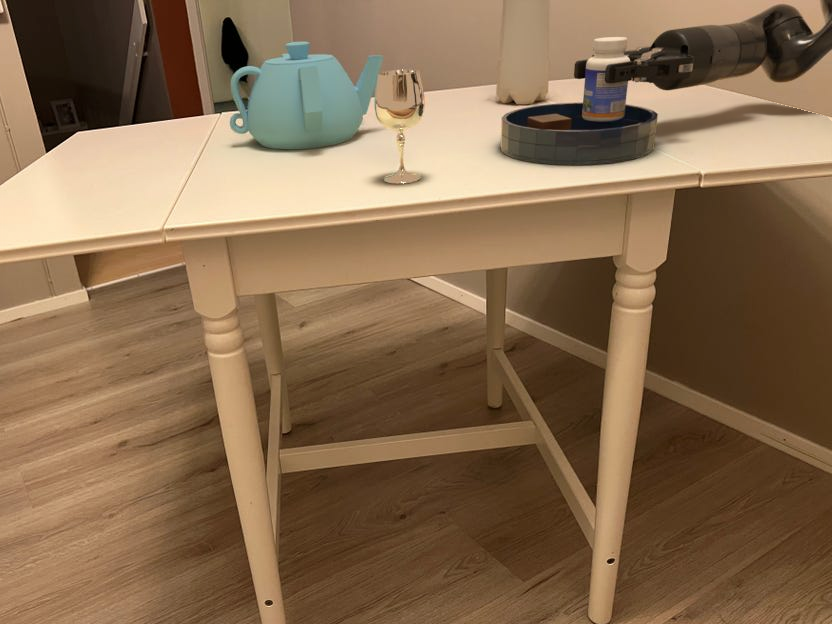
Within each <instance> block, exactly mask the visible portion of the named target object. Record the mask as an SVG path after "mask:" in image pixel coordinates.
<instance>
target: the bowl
mask: <svg viewBox="0 0 832 624" xmlns="http://www.w3.org/2000/svg"><path fill="white" fill-rule="evenodd" d="M582 109H583V101H582V102H578V101H577V102H560V103H548V104H539V105H534V106H525V107H522V108H518V109H514V110H512V111H508V112H506V113H505V114H503V116H501V118H500V119H501V120H500V121H501V122H500V123H501V124H500V150H501V152H502V153H503V154H504V155H506V156H508V157H509V158H512V159H516V160H519V161H522V162H529V163H535V164H544V165H556V166H591V165H593V166H594V165H605V164H615V163H621V162H626V161H631V160H636V159H639V158H642V157H645V156H646V155H648V154H650V153H651V152H653V150H654V147H655V139H656V133H657V124H658V117H659V114H658V113H657V112H656V111H655V110H654V109H650V108H647V107H644V106H639V105H633V104H627V103H626V105H625V114H624V117H623V118H621V119H619V120H615V121H606V122H598V121H588V120H585V119H583V117H582ZM549 114H558V115H562V116H565V117H568V118H571V119H572V120H571V130H549V129H536V128H529V127H527V121H528V117H533V116H541V115H549Z"/></svg>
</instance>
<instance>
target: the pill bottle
mask: <svg viewBox="0 0 832 624" xmlns="http://www.w3.org/2000/svg"><path fill="white" fill-rule="evenodd" d="M627 47H628V38H627V37H626V36H625V37H624V36H606V37H598V38H595V39H594V40H593V47H592V50H593V52H594V54H593V55H594V56H593V57H592V56H591V57H590V58H588V61H587V63H586V71H585V78H584V86H583V87H584V88H583V98H582V102H583V109H582V117H583V119H585V120H588V121H598V122H606V121H615V120H619V119H621V118H623V117H624V114H625V105H626V104H627V103H626V102H627V95H628V85H629V81H625V82H619V83H612V84H609V83H606V82H605V72H606V67H607V65H609V64H615V63H622V62H629V61H630V59H629V57H627V56H628V55H624V51H625V50H627Z"/></svg>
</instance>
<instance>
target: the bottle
mask: <svg viewBox="0 0 832 624" xmlns="http://www.w3.org/2000/svg"><path fill="white" fill-rule="evenodd" d="M549 47H550V0H502V13H501V27H500V41H499V55H498V60H497V65H496V88H495V89H496V90H495V93H496V96H497V97H498V100H499V101H500V102H501V103H502V104H503V105H504V104H510V103H512V102H513V101H514V102H515V104H516V105H531V104H534V102H537V101H538V102H539V101H541V102H542V101H543V100H544V99H545V98H546V96H547V94H548V93H549V84H550V83H549V81H550V69H551V61H550V53H549V52H550V51H549V50H550V49H549Z"/></svg>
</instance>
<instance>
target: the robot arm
mask: <svg viewBox="0 0 832 624" xmlns="http://www.w3.org/2000/svg"><path fill="white" fill-rule="evenodd" d="M819 1H820V2H819V4H820V8H821V12H822V13H821V14H822V17H823V19H824V25H823V27H822V28H820V30H818V31H817V32H815V33H814V32H813V31H812V29H811V28H810V26H809V25H808V23H807V21H806V20H805V18H804V17H803V16H802V15H803V14H801V12H800V11H799V9H797V8H796V7H794V6H793V5H790V4H786V3H779V4H775V5H772V6H770V7H769V8H767V9H765V10H763V11H761V12H760V13H757V14H756V15H754V16H752V17H749V18H747V19H745V20H742V21H740V22H735V23H727V24H705V25H697V26H688V27H682V28H675V29H674V28H673V29H668V30H666V31H663V32H662V33H660V34H659V35H658V36H657V37H656V38H655V40H653V42H652V44H651V45H645V46H644V45H643V46H637V47H636V48H632V49H626V50H625V51H624V55H625V56H627V57H629V59H630V61H629V62H622V63H615V64H609V65H607V67H606V72H605V82H606V83H609V84H612V83H619V82H625V81H628V82H630V81H631V82H634V83H649V84H653V85H654V86H655V87H656V88H658V89H659V90H662V91H675V90H681V89H686V88H692V87H698V86H703V85H704V86H705V85H708V84H709V85H710V84H713V83H715V82H718V81H723V80H728V79H729V80H730V79H735V78H741V77H744V76H747V75H750V74H752V73H753V72H755V71H756V70H758V69H759V67H760V68H761V69H762V70H763V72H764V74H765V75H766V77H767V78H768V79H769V80H770V81H771V82H772V83H773V82H774V83H777V84H778V83H779V84H781V83H787V82H788V83H789V82H792V81H795V80H797V79H799V78H800V77H802V76H804V75H805V74H807V73H808V72H809V71H810V70H811V69H812V68H813V67H815V65H817V64H818V63H819V62H820V61H821V60H822V59H823V58H824V57H825V56H827V54H829V53H830V52H831V51H832V0H819ZM594 55H595V54H592V55H591V57H593V56H594ZM588 59H589V58H588ZM588 59H581V60H577V61H575V63H574V69H573V78H574V79H577V80H583V79H584V80H585V71H586V63H587V61H588Z"/></svg>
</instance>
